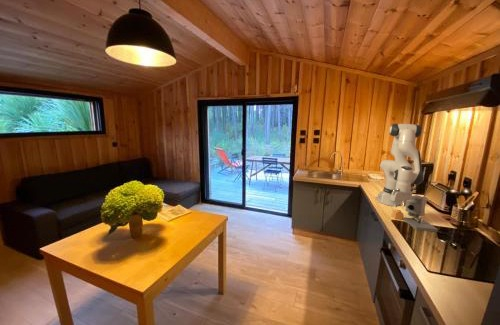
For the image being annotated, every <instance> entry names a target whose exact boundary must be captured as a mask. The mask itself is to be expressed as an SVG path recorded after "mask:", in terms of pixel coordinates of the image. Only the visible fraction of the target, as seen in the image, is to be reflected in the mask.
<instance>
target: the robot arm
mask: <svg viewBox="0 0 500 325" xmlns="http://www.w3.org/2000/svg"><path fill="white" fill-rule="evenodd" d="M388 129H389V130H388V132H389V133H388V134H389V135H390V136H392V137H393V140H392V144H391V149H390V154H391V156H393V157H394V159H384V160H381V162H380V164H379V167H380V169H381V171H382V172H383V174H384V177H385V178H384V179H385V180H384V182H385V183H384V186H383V189H382V191H380V192H378V194H377V196H376V197H375V200H376V201H377V203H379V204H383V205H386V206H390V207H394V208H397V207H399V206H400V205H401V207H406V204H407V202H408V201H410V199H411V197H412V196H413V192H414V188H413V187H412V185H415V186H416V185H417V186H418V185H420V184H422V183H423V182H424V178H425V177H424V173H423V165H422V156H421V152H420V150H418V149H417V146H416V138H419V137H420V136H421V134H422V133H423V127H422V126H421V125H420V124H413V123H392V124H391V125H390V127H389V128H388ZM407 157H408V158H411V159H412V161H413V167H414V169H413V167H412V165H411V164H410V162H409V161H408V158H407Z"/></svg>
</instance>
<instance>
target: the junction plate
mask: <svg viewBox="0 0 500 325" xmlns="http://www.w3.org/2000/svg"><path fill="white" fill-rule="evenodd" d="M402 220H403V221H404V222H405V223H407V224H408V225H409V224H410V225H409V226H411V227H412V228H413V229H414V230H416V231H421V232H422V231H423V232H435V233H438V231H439V229H438V228H437V227H435V226H434V225H433V224H431V223H430V222H428V221H427V220H425V219H424V216H419V218H417V217H404V216H403V219H402Z"/></svg>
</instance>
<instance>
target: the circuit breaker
mask: <svg viewBox="0 0 500 325" xmlns="http://www.w3.org/2000/svg"><path fill="white" fill-rule="evenodd" d="M427 201H428V197H424V196H422V195H418V194H417V195H412V197H411V199H410V200H407V202H406V204H405V211H406V212H407V215H409V216H412V217H413V218H417V219H419V216H423V217H425V212H426V210H425V209H426V206H427V205H426V204H427Z"/></svg>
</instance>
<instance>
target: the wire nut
mask: <svg viewBox="0 0 500 325" xmlns="http://www.w3.org/2000/svg"><path fill="white" fill-rule="evenodd" d="M391 217H392V218H393V219H394V220H398V221H399V220H400V221H402V220H403V219H404V213H403V211H402V210H401V209H395V210H392V212H391Z"/></svg>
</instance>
